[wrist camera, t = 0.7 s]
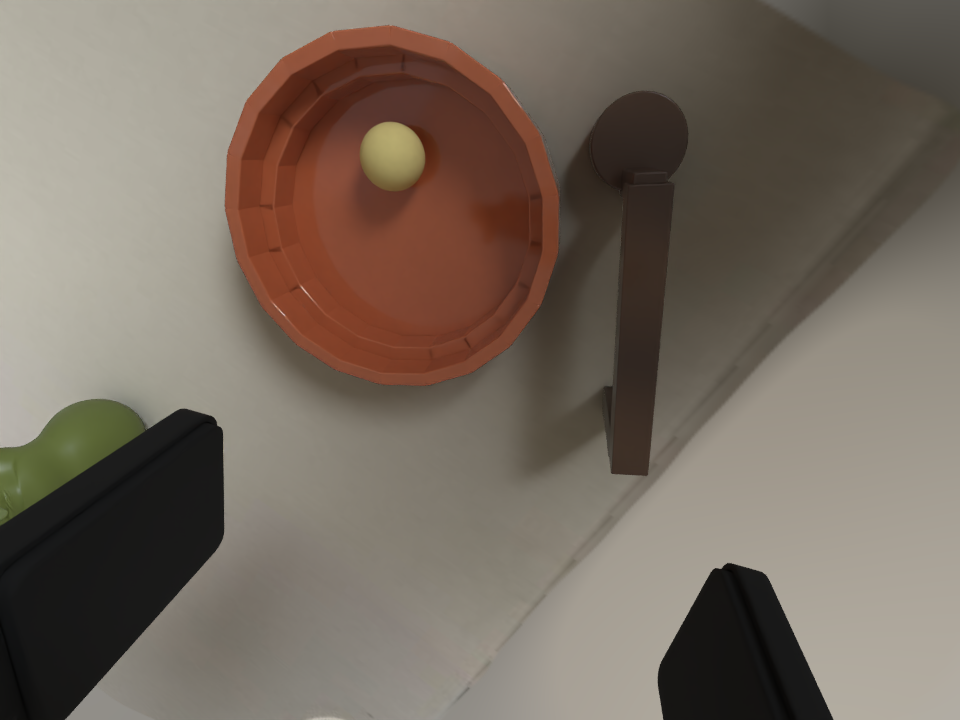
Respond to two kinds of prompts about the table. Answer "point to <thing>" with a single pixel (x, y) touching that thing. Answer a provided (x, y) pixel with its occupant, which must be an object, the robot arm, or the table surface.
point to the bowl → (392, 207)
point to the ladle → (638, 259)
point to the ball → (392, 156)
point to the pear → (63, 451)
